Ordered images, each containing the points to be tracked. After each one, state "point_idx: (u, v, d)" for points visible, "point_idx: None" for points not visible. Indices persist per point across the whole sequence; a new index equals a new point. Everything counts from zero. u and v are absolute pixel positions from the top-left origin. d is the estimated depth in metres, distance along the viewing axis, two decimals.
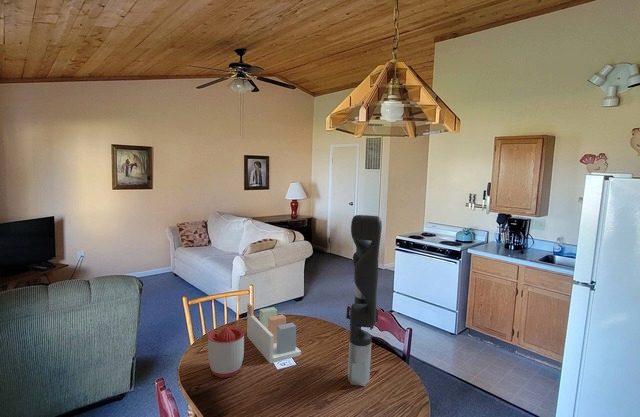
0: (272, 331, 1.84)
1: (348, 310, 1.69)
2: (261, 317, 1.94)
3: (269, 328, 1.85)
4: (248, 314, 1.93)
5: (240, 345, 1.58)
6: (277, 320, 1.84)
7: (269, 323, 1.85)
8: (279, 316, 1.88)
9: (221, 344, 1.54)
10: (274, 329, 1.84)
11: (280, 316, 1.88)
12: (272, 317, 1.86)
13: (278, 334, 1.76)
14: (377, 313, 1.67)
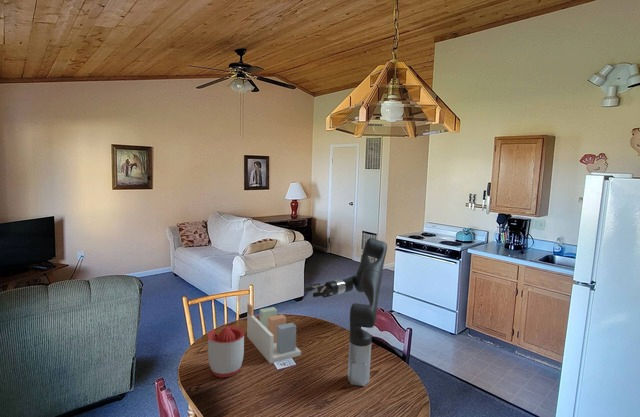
0: (272, 331, 1.84)
1: (317, 284, 2.04)
2: (261, 317, 1.94)
3: (269, 328, 1.85)
4: (248, 314, 1.93)
5: (240, 345, 1.58)
6: (277, 320, 1.84)
7: (269, 323, 1.85)
8: (279, 316, 1.88)
9: (221, 344, 1.54)
10: (274, 329, 1.84)
11: (280, 316, 1.88)
12: (272, 317, 1.86)
13: (278, 334, 1.76)
14: (329, 291, 1.93)
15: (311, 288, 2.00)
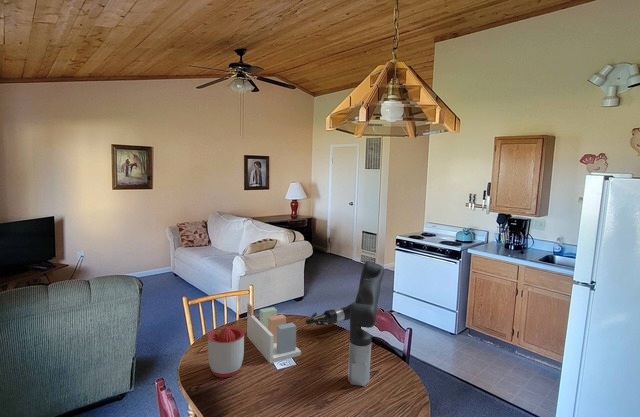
0: (272, 331, 1.84)
1: (315, 314, 2.04)
2: (261, 317, 1.94)
3: (269, 328, 1.85)
4: (248, 314, 1.93)
5: (240, 345, 1.58)
6: (277, 320, 1.84)
7: (269, 323, 1.85)
8: (279, 316, 1.88)
9: (221, 344, 1.54)
10: (274, 329, 1.84)
11: (280, 316, 1.88)
12: (272, 317, 1.86)
13: (278, 334, 1.76)
14: (323, 320, 1.95)
15: None
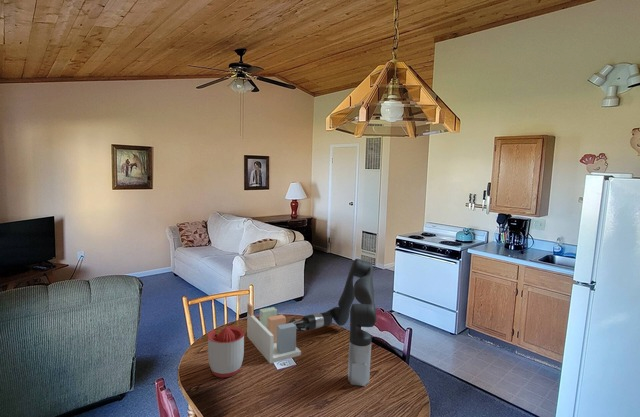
0: (272, 331, 1.83)
1: (293, 319, 1.97)
2: (261, 317, 1.94)
3: (269, 328, 1.85)
4: (248, 314, 1.93)
5: (240, 345, 1.58)
6: (277, 320, 1.84)
7: (269, 323, 1.85)
8: (279, 316, 1.88)
9: (221, 344, 1.54)
10: (274, 329, 1.84)
11: (280, 316, 1.88)
12: (272, 317, 1.86)
13: (278, 334, 1.76)
14: (301, 326, 1.89)
15: None
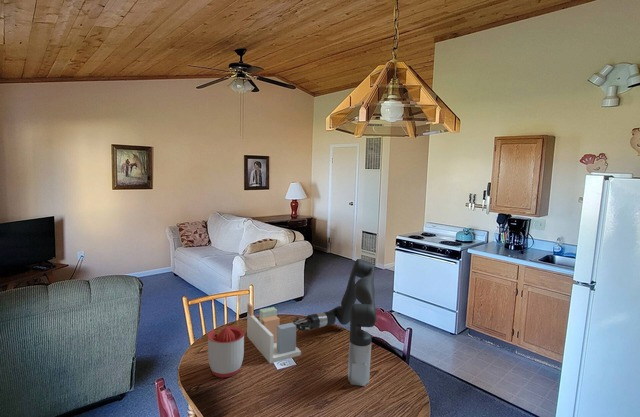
0: None
1: (297, 318, 1.98)
2: (261, 317, 1.94)
3: None
4: (248, 314, 1.93)
5: (240, 345, 1.58)
6: (270, 321, 1.82)
7: None
8: (273, 317, 1.86)
9: (221, 344, 1.54)
10: None
11: (274, 317, 1.86)
12: (265, 318, 1.84)
13: (278, 334, 1.76)
14: (305, 325, 1.90)
15: None
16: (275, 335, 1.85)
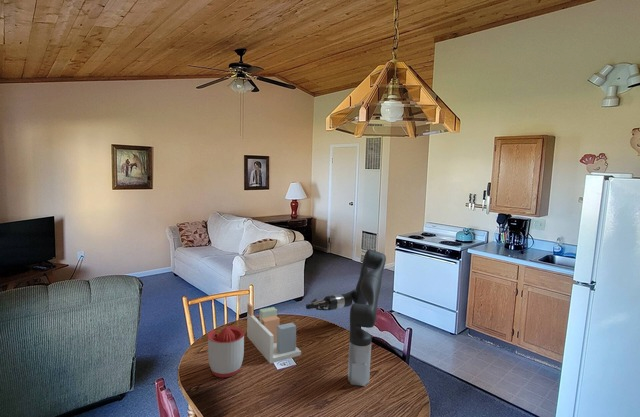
0: None
1: (315, 299, 2.02)
2: (261, 317, 1.94)
3: None
4: (248, 314, 1.93)
5: (240, 345, 1.58)
6: (270, 321, 1.82)
7: None
8: (273, 317, 1.86)
9: (221, 344, 1.54)
10: None
11: (274, 317, 1.86)
12: (265, 318, 1.84)
13: (278, 334, 1.76)
14: (323, 305, 1.94)
15: None
16: (275, 335, 1.85)
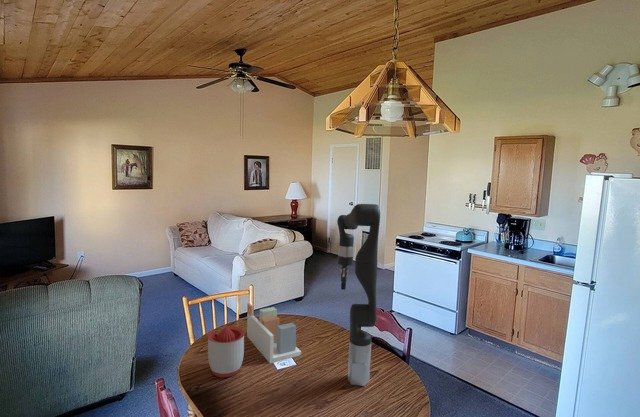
0: None
1: None
2: (261, 317, 1.94)
3: None
4: (248, 314, 1.93)
5: (240, 345, 1.58)
6: (270, 321, 1.82)
7: None
8: (273, 317, 1.86)
9: (221, 344, 1.54)
10: None
11: (274, 317, 1.86)
12: (265, 318, 1.84)
13: (278, 334, 1.76)
14: (341, 276, 1.82)
15: None
16: (275, 335, 1.85)
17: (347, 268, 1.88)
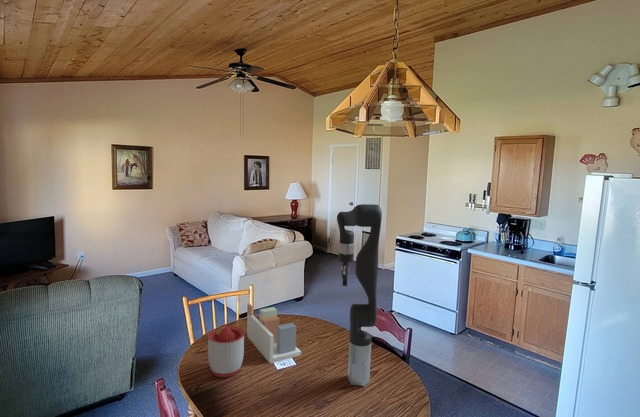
0: None
1: None
2: (261, 317, 1.94)
3: None
4: (248, 314, 1.93)
5: (240, 345, 1.58)
6: (270, 321, 1.82)
7: None
8: (273, 317, 1.86)
9: (221, 344, 1.54)
10: None
11: (274, 317, 1.86)
12: (265, 318, 1.84)
13: (278, 334, 1.76)
14: None
15: None
16: (275, 335, 1.85)
17: (348, 264, 1.87)
